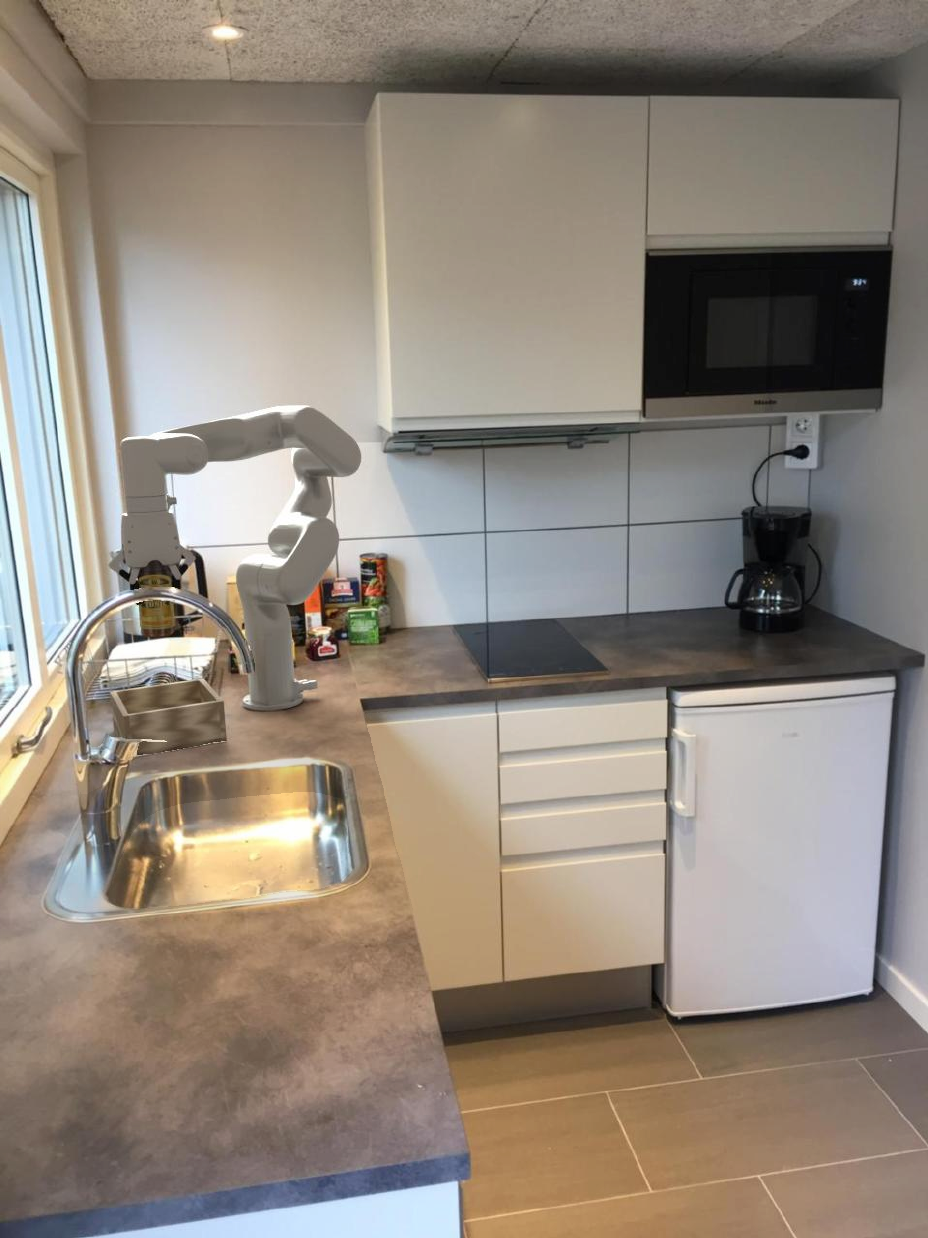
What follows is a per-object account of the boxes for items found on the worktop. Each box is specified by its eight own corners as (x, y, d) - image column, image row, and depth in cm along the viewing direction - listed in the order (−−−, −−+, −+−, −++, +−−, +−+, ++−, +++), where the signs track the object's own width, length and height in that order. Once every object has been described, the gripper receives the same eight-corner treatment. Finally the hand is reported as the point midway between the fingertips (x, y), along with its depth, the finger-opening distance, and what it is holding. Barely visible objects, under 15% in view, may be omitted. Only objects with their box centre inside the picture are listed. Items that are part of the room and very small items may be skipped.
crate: (206, 716, 206) (203, 678, 204) (227, 741, 190) (223, 701, 188) (114, 730, 198) (110, 691, 196) (127, 758, 182) (123, 716, 180)
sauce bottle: (140, 640, 186) (128, 533, 181) (141, 633, 192) (130, 529, 187) (177, 637, 187) (166, 530, 183) (177, 629, 193) (166, 526, 189)
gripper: (191, 500, 191) (199, 593, 195) (95, 506, 184) (105, 603, 188) (199, 503, 185) (207, 600, 188) (100, 510, 177) (110, 610, 181)
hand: (156, 600), depth 188 cm, fingers closed on sauce bottle, 6 cm apart
